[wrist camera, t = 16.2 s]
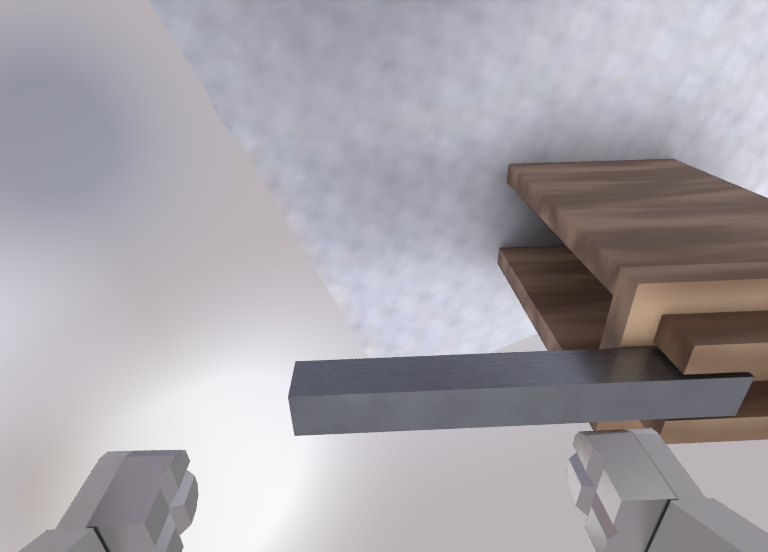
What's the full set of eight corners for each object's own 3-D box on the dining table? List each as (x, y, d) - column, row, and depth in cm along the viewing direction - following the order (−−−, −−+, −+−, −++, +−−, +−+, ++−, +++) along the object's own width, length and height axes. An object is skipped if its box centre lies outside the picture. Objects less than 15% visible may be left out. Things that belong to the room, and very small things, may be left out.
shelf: (508, 164, 48) (669, 312, 23) (673, 158, 49) (1010, 299, 23) (497, 263, 54) (616, 469, 29) (644, 257, 54) (889, 456, 29)
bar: (295, 361, 27) (288, 397, 24) (717, 343, 28) (754, 376, 25) (301, 398, 29) (294, 435, 26) (701, 381, 29) (735, 415, 27)
